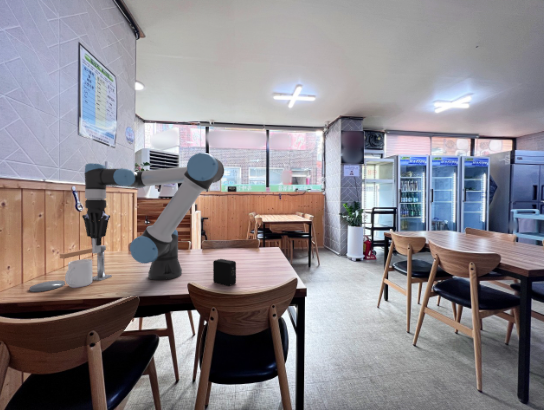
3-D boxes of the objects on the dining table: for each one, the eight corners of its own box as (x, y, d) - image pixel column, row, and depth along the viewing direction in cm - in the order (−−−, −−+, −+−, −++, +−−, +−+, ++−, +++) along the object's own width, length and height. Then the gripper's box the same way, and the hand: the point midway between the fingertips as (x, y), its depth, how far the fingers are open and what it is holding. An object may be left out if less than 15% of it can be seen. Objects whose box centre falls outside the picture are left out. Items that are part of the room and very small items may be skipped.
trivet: (71, 283, 107) (71, 281, 107) (42, 293, 96) (42, 290, 96) (52, 281, 110) (52, 279, 110) (22, 290, 99) (22, 288, 99)
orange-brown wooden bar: (107, 249, 116) (107, 245, 116) (65, 259, 98) (65, 254, 98) (101, 249, 117) (101, 245, 117) (58, 258, 99) (58, 253, 99)
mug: (76, 291, 98) (75, 266, 98) (55, 291, 98) (55, 266, 98) (97, 281, 110) (96, 259, 110) (78, 281, 110) (78, 259, 110)
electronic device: (229, 286, 104) (229, 263, 104) (213, 282, 109) (213, 260, 109) (236, 283, 108) (236, 261, 107) (219, 279, 113) (219, 258, 113)
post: (111, 276, 117) (111, 250, 117) (100, 280, 111) (99, 252, 111) (101, 275, 119) (101, 249, 118) (89, 279, 113) (89, 251, 113)
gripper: (115, 199, 108) (116, 251, 109) (92, 199, 111) (93, 250, 112) (99, 199, 101) (100, 255, 101) (75, 199, 104) (76, 253, 104)
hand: (96, 252), depth 107 cm, fingers closed
